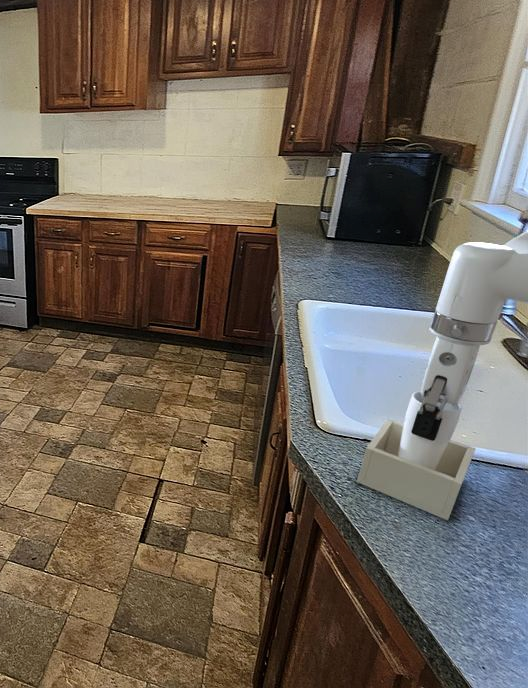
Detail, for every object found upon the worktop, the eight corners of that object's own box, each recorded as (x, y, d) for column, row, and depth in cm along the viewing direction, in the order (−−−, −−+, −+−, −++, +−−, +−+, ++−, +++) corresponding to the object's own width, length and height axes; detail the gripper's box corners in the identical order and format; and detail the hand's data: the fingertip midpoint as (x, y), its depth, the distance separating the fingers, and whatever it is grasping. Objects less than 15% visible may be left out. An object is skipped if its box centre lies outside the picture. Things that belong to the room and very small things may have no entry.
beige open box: (462, 482, 90) (475, 448, 88) (447, 520, 82) (461, 484, 79) (378, 450, 99) (387, 418, 96) (356, 482, 90) (366, 447, 87)
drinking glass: (397, 460, 94) (420, 386, 89) (441, 479, 89) (468, 402, 84) (382, 475, 90) (405, 399, 85) (427, 496, 85) (455, 416, 80)
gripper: (484, 350, 71) (444, 460, 78) (501, 318, 83) (465, 416, 89) (419, 335, 76) (387, 439, 83) (443, 306, 87) (414, 400, 94)
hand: (428, 426), depth 86 cm, fingers closed on drinking glass, 6 cm apart
